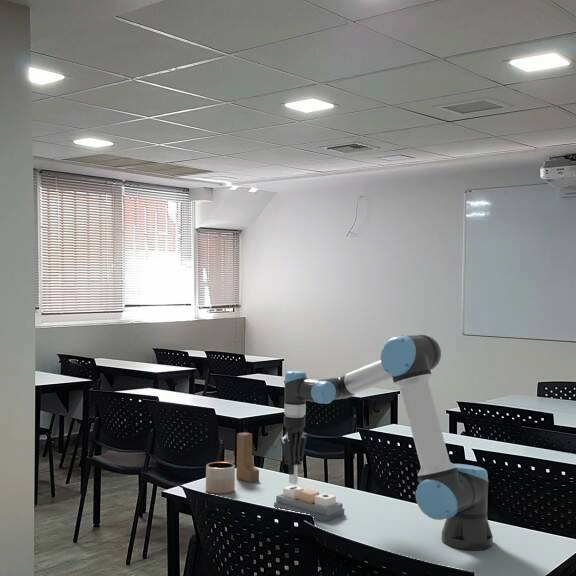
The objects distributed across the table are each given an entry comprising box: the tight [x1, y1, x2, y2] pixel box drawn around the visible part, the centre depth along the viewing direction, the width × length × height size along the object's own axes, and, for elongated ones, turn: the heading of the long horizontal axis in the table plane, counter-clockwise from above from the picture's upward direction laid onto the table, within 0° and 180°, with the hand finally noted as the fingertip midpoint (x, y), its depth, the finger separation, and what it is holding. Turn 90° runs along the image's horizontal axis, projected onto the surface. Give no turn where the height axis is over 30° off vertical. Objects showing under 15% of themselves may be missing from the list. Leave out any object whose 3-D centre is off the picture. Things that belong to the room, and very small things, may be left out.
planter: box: [205, 461, 236, 495], centre depth 270 cm, size 11×11×10 cm
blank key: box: [299, 489, 320, 504], centre depth 246 cm, size 5×5×3 cm
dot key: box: [315, 492, 337, 508], centre depth 242 cm, size 5×5×3 cm
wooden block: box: [235, 431, 260, 483], centre depth 286 cm, size 9×4×18 cm, turn 44°
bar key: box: [282, 484, 304, 499], centre depth 251 cm, size 5×5×3 cm
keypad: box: [273, 493, 345, 523], centre depth 246 cm, size 22×11×4 cm, turn 50°
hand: (293, 483), depth 251 cm, fingers closed
